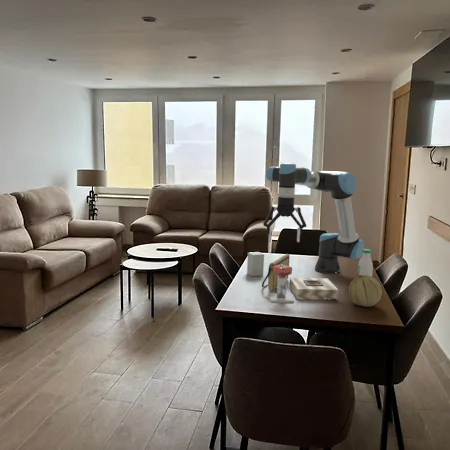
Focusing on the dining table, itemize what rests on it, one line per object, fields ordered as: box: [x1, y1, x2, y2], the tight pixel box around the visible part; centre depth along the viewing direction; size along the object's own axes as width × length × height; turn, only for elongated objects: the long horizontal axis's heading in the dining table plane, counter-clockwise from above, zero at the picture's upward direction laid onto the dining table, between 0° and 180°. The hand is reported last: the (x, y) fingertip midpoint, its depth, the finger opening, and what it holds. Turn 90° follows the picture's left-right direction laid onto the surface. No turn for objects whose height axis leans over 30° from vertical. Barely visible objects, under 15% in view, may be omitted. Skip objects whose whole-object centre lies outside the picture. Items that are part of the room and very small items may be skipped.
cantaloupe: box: [348, 275, 383, 308], centre depth 201 cm, size 15×15×15 cm
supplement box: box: [246, 251, 265, 277], centre depth 250 cm, size 7×7×13 cm
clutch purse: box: [261, 253, 290, 292], centre depth 231 cm, size 30×7×15 cm, turn 154°
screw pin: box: [273, 264, 293, 298], centre depth 208 cm, size 9×9×15 cm
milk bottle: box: [356, 248, 374, 277], centre depth 235 cm, size 8×8×20 cm
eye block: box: [289, 277, 339, 301], centre depth 219 cm, size 20×20×6 cm
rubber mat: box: [267, 292, 295, 304], centre depth 209 cm, size 11×11×1 cm
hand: (283, 241), depth 205 cm, fingers open, 13 cm apart
